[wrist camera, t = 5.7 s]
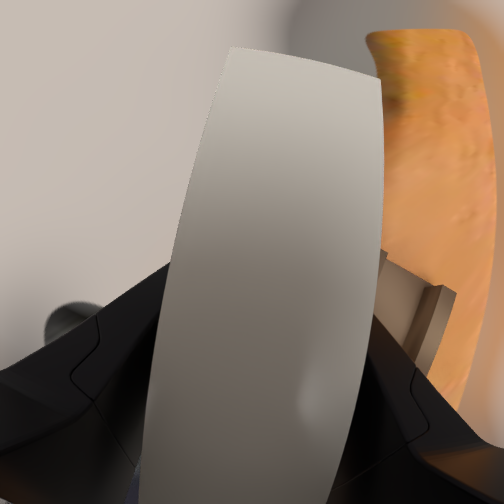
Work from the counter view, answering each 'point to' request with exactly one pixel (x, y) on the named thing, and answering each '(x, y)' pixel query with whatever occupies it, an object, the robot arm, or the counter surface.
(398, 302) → the flanged channel block
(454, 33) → the counter surface
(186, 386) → the clay slab
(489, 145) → the counter surface
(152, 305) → the robot arm
